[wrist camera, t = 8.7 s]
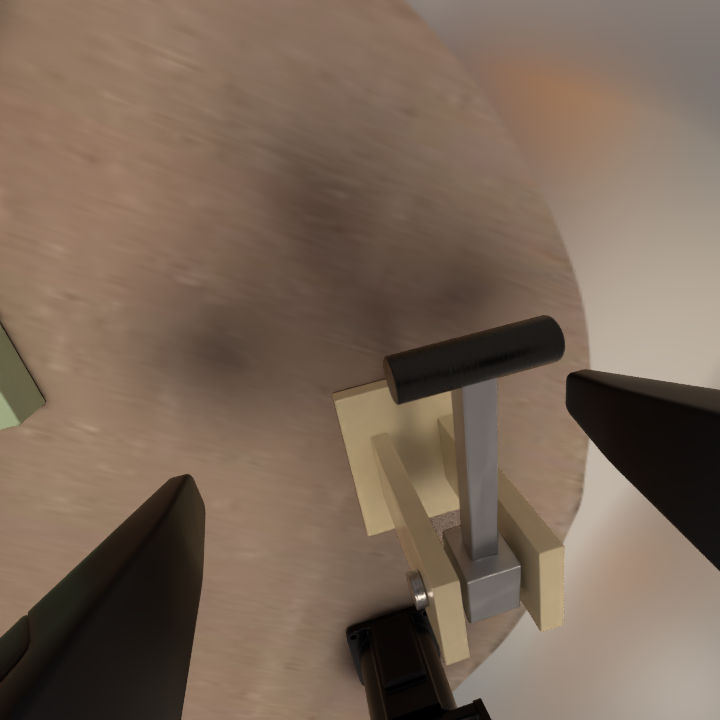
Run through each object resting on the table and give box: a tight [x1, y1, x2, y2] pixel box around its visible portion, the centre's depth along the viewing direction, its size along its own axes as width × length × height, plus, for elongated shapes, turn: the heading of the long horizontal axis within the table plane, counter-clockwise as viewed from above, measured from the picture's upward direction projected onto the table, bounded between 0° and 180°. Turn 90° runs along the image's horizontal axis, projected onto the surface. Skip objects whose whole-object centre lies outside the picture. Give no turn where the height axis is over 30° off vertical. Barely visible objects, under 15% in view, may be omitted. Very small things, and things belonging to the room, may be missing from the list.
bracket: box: [332, 379, 564, 665], centre depth 20 cm, size 10×8×11 cm
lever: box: [383, 315, 565, 623], centre depth 14 cm, size 12×5×2 cm, turn 11°
